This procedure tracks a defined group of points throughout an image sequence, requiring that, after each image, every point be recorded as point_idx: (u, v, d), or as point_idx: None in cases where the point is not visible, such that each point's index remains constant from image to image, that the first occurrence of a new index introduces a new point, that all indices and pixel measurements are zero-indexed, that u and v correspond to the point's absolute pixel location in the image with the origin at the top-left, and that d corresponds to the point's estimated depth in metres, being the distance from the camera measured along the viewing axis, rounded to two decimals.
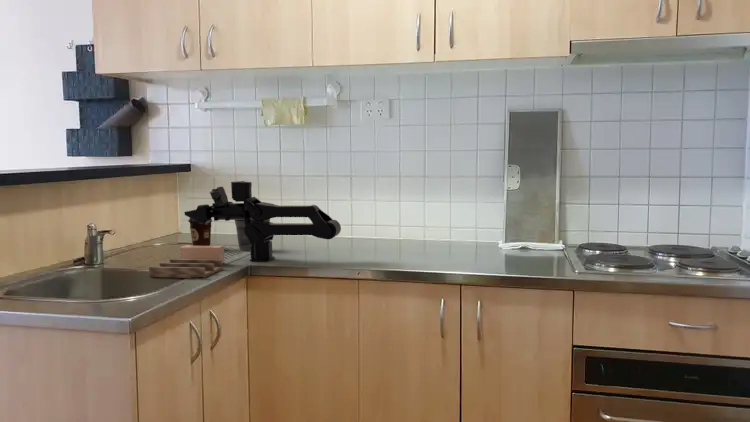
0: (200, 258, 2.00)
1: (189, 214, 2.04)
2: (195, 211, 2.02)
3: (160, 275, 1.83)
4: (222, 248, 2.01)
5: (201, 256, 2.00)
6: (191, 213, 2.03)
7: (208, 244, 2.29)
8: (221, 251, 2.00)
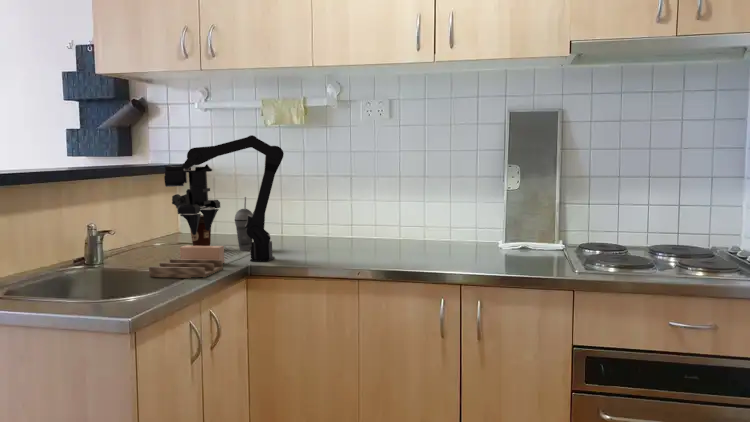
0: (200, 258, 2.00)
1: (193, 228, 1.95)
2: (188, 220, 1.95)
3: (160, 275, 1.83)
4: (222, 248, 2.01)
5: (201, 256, 2.00)
6: (191, 225, 1.95)
7: (208, 244, 2.29)
8: (221, 251, 2.00)
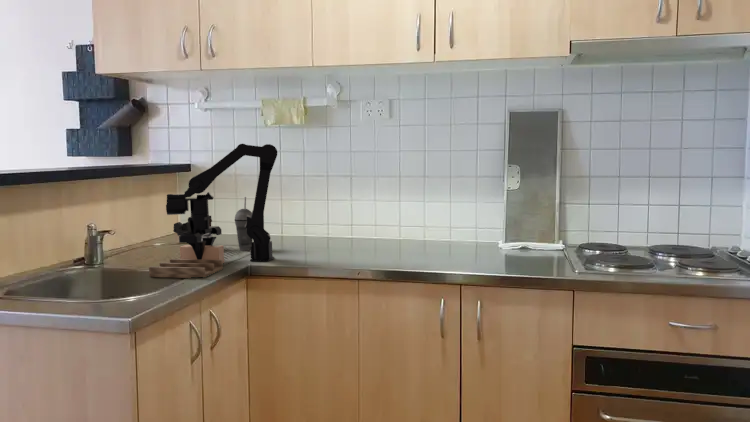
0: None
1: (198, 254, 1.99)
2: (194, 247, 1.98)
3: (160, 275, 1.83)
4: (222, 248, 2.01)
5: None
6: (197, 252, 1.99)
7: None
8: (221, 251, 2.00)
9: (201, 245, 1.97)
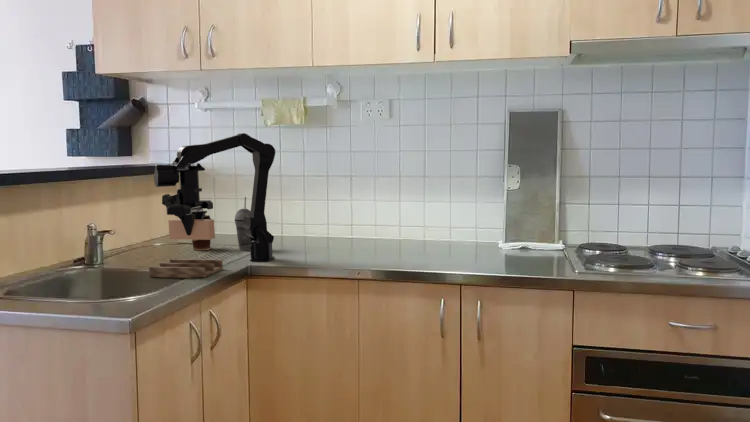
0: None
1: (188, 228, 1.90)
2: (183, 220, 1.89)
3: (160, 275, 1.83)
4: (212, 222, 1.91)
5: None
6: (186, 225, 1.89)
7: (208, 244, 2.29)
8: (211, 224, 1.91)
9: (190, 218, 1.88)
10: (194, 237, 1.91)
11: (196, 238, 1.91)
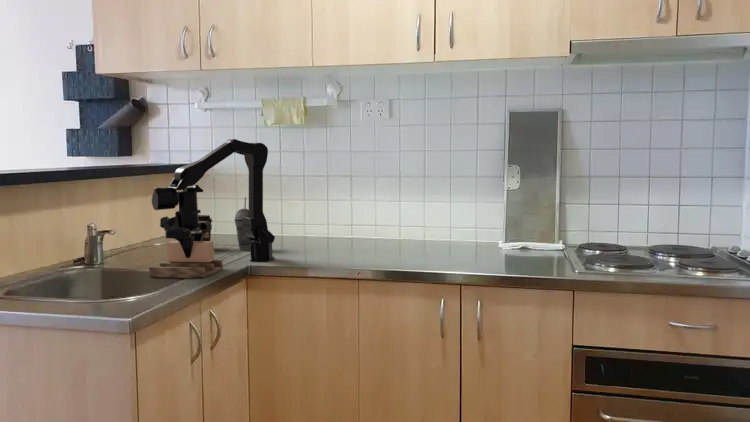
0: None
1: (187, 251, 1.87)
2: (182, 243, 1.87)
3: (160, 275, 1.83)
4: (211, 244, 1.89)
5: None
6: (185, 248, 1.87)
7: None
8: (210, 247, 1.89)
9: (189, 241, 1.86)
10: (193, 259, 1.88)
11: (195, 260, 1.88)
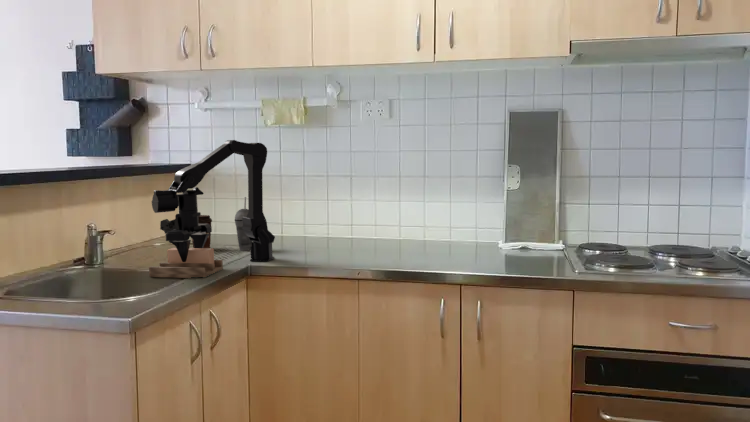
0: (189, 261, 1.89)
1: (183, 255, 1.85)
2: (178, 247, 1.84)
3: (160, 275, 1.83)
4: (212, 251, 1.90)
5: (190, 259, 1.89)
6: (181, 252, 1.85)
7: (208, 244, 2.29)
8: (211, 254, 1.89)
9: (185, 245, 1.83)
10: None
11: None
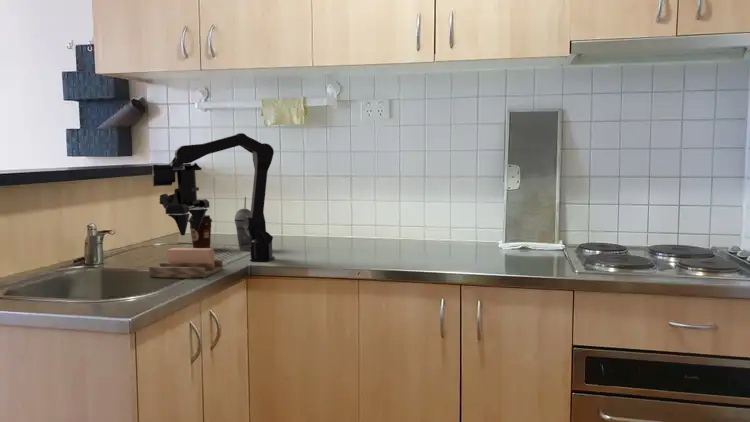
0: (189, 261, 1.89)
1: (182, 228, 1.90)
2: (177, 220, 1.89)
3: (160, 275, 1.83)
4: (212, 251, 1.90)
5: (190, 259, 1.89)
6: (180, 226, 1.89)
7: (208, 244, 2.29)
8: (211, 254, 1.89)
9: (184, 218, 1.88)
10: None
11: None
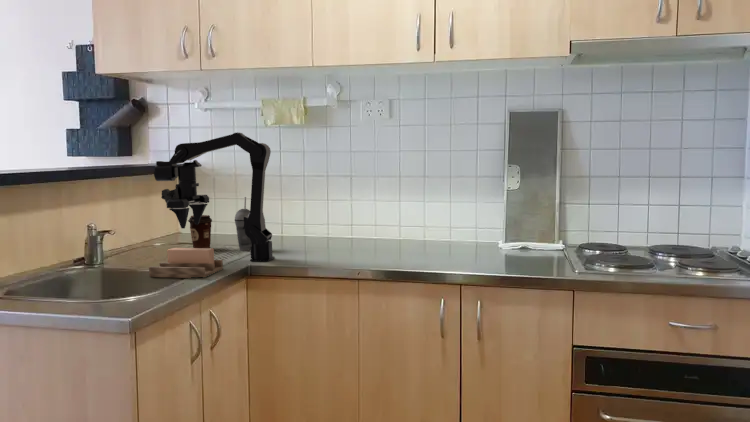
0: (189, 261, 1.89)
1: (182, 222, 2.00)
2: (177, 214, 1.99)
3: (160, 275, 1.83)
4: (212, 251, 1.90)
5: (190, 259, 1.89)
6: (180, 219, 2.00)
7: (208, 244, 2.29)
8: (211, 254, 1.89)
9: (184, 212, 1.98)
10: None
11: None
